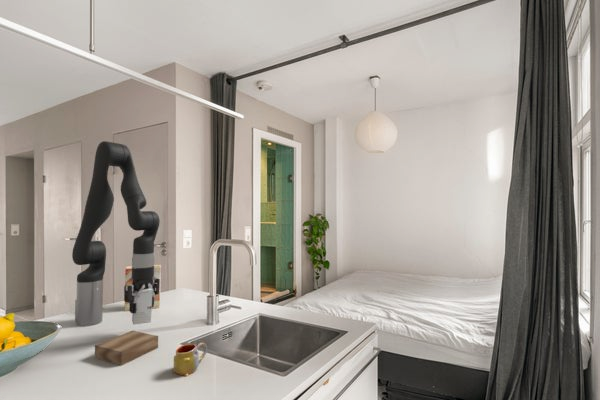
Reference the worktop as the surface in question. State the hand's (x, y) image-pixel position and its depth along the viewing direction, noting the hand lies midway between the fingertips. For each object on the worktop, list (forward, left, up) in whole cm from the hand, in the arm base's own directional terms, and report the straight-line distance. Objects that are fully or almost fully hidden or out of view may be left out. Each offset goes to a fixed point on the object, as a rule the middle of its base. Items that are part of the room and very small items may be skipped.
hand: (142, 309), depth 125 cm
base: (+7, -12, -10) cm, 17 cm away
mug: (+33, -11, -10) cm, 36 cm away
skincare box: (0, 0, -5) cm, 5 cm away
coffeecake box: (-29, +26, -10) cm, 40 cm away
